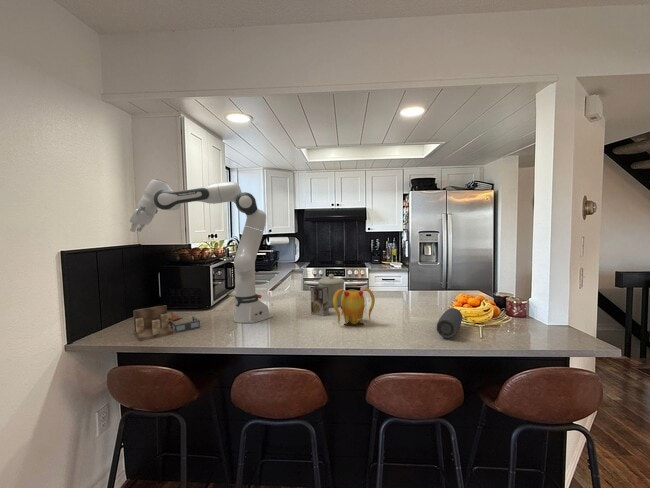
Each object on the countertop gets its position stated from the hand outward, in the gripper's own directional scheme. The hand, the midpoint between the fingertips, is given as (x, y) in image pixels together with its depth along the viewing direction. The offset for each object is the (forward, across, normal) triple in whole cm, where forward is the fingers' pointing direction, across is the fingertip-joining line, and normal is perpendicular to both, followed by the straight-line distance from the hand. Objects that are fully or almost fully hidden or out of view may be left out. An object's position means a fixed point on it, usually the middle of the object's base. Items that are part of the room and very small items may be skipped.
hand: (135, 231), depth 164 cm
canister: (-3, +16, -121) cm, 122 cm away
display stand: (+42, -13, -32) cm, 54 cm away
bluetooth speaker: (-22, -51, -159) cm, 168 cm away
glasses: (+36, -7, -44) cm, 57 cm away
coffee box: (+2, -1, -111) cm, 111 cm away
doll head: (-4, -25, -123) cm, 125 cm away
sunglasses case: (+42, +7, -33) cm, 54 cm away
